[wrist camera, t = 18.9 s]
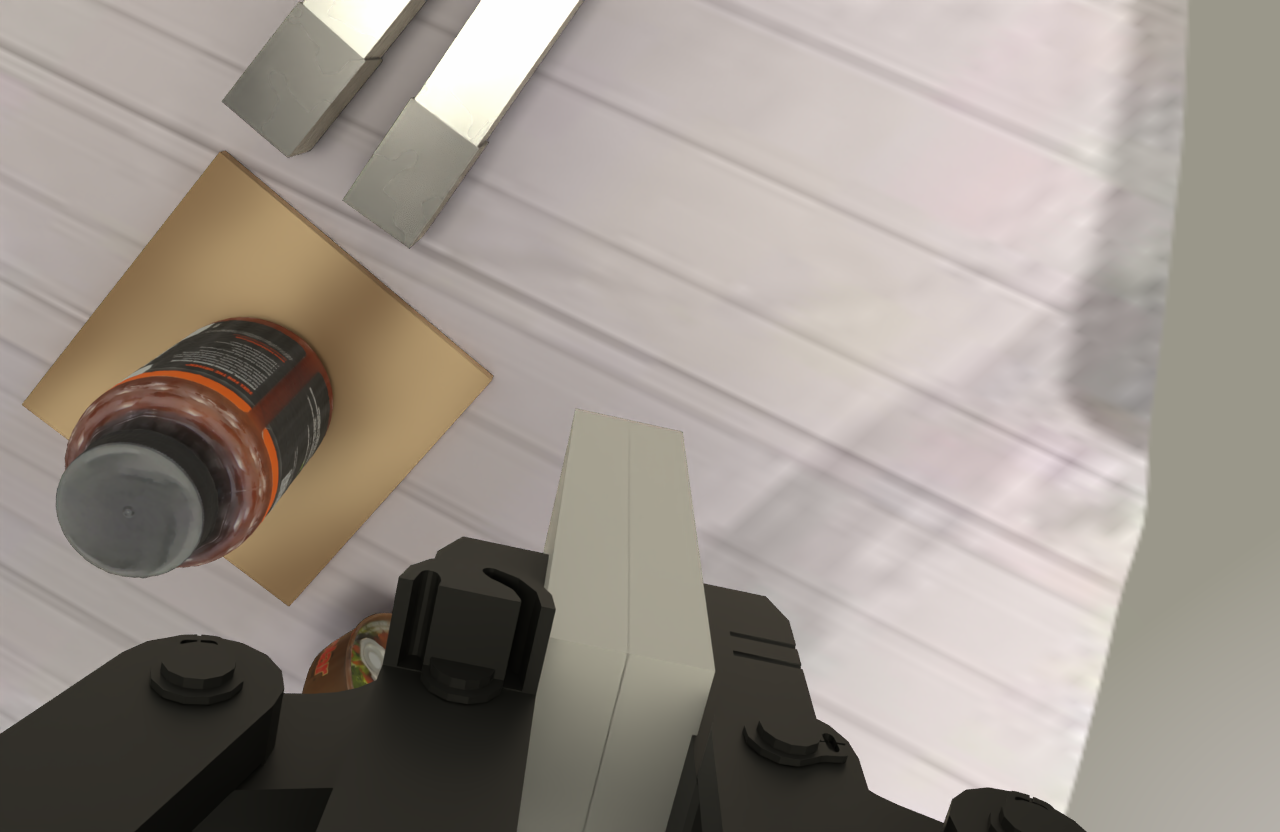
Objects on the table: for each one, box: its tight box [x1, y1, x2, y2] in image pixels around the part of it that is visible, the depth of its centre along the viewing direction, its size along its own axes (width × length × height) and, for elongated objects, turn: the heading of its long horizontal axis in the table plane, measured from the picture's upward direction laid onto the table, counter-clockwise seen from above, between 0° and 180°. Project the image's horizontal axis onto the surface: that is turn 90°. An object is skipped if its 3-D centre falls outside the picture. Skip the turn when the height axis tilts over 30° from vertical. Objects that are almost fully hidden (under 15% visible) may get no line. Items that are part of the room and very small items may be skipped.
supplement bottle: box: [56, 317, 333, 578], centre depth 37 cm, size 6×6×11 cm
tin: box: [302, 613, 392, 694], centre depth 44 cm, size 15×3×8 cm, turn 35°
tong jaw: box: [342, 0, 584, 249], centre depth 37 cm, size 17×3×4 cm, turn 143°
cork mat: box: [22, 151, 493, 606], centre depth 43 cm, size 12×12×1 cm
